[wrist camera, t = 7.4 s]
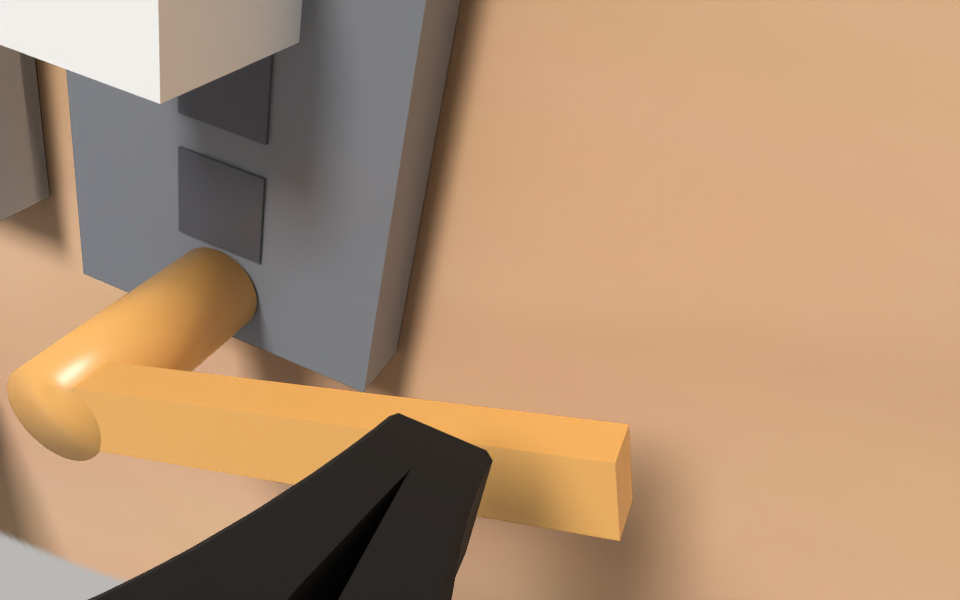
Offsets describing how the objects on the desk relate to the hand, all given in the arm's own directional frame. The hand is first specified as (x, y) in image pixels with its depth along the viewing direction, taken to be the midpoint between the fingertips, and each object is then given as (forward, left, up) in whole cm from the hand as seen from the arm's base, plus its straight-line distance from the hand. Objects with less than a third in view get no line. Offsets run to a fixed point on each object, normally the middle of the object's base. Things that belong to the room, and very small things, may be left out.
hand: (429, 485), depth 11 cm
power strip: (+1, +9, -10) cm, 14 cm away
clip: (-4, +4, -8) cm, 10 cm away
